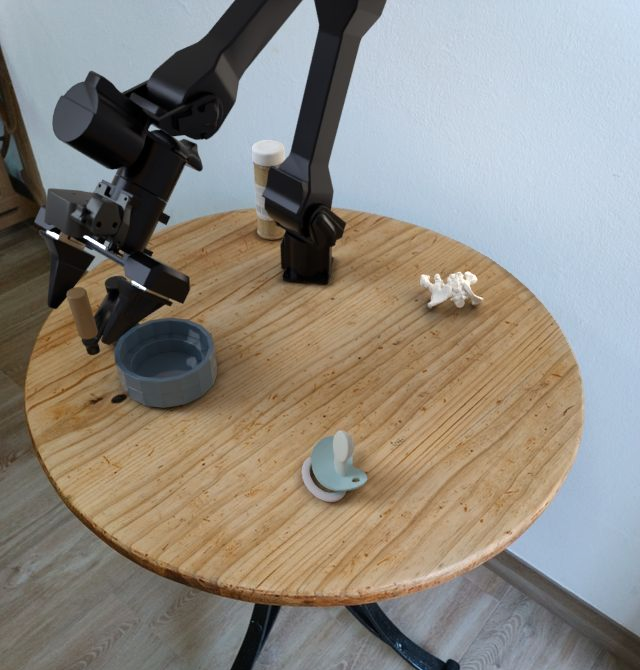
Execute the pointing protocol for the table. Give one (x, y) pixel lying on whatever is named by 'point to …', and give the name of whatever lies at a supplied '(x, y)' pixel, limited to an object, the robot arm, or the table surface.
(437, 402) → the table surface
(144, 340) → the basin
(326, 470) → the pacifier
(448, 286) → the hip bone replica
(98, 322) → the black crank handle
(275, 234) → the sprinkles bottle
